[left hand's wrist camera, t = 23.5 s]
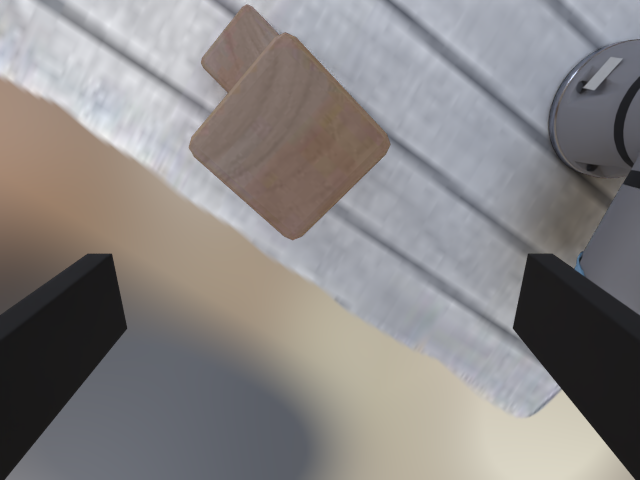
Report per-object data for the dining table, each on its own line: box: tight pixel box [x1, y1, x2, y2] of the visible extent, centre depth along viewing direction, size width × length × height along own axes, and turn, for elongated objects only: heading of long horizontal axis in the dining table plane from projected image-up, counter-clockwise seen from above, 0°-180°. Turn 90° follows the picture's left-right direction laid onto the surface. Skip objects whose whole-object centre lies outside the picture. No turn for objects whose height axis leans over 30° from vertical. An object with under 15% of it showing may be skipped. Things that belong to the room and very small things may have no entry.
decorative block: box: [189, 5, 390, 240], centre depth 32 cm, size 8×15×30 cm, turn 46°
